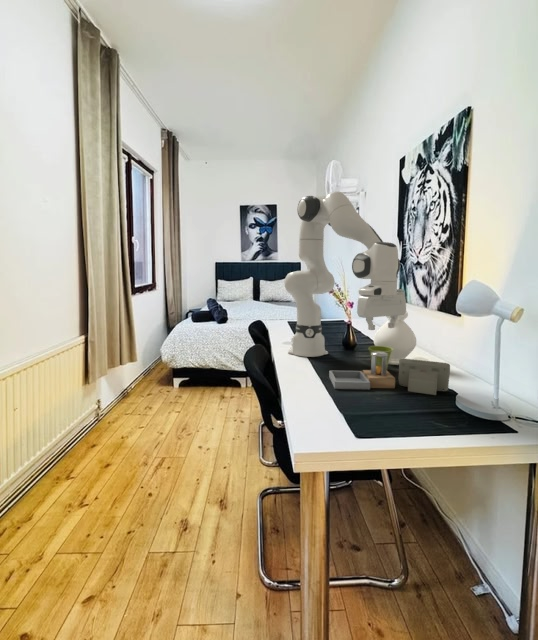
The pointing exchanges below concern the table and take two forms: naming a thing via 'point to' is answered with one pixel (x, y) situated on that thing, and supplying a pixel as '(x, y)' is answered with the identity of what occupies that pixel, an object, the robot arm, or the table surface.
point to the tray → (349, 380)
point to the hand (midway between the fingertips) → (381, 328)
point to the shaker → (384, 362)
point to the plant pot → (380, 349)
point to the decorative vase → (396, 339)
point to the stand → (380, 380)
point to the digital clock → (424, 376)
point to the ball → (378, 369)
